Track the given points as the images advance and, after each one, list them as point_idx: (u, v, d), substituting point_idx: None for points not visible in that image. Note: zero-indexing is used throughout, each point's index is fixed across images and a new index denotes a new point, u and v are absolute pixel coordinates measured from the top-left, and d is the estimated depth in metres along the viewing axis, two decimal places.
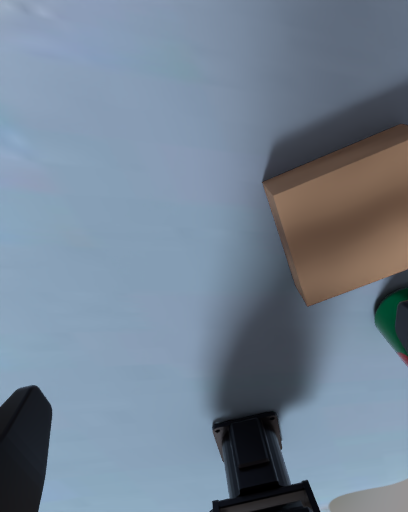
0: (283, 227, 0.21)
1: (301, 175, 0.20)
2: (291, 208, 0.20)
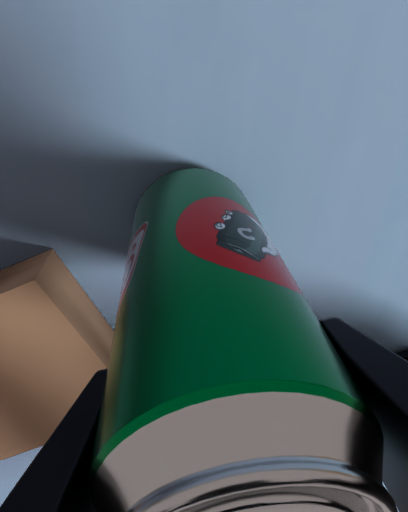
0: (27, 449, 0.18)
1: None
2: (0, 449, 0.18)
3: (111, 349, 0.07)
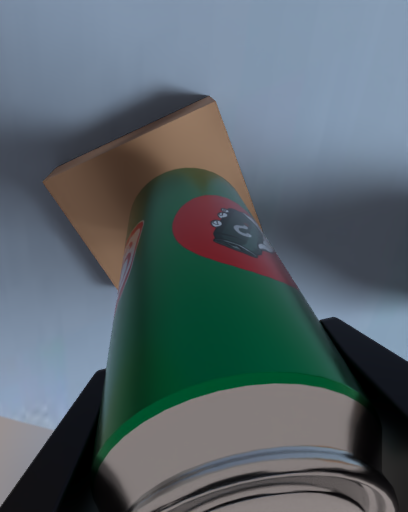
0: None
1: None
2: None
3: (110, 347, 0.07)
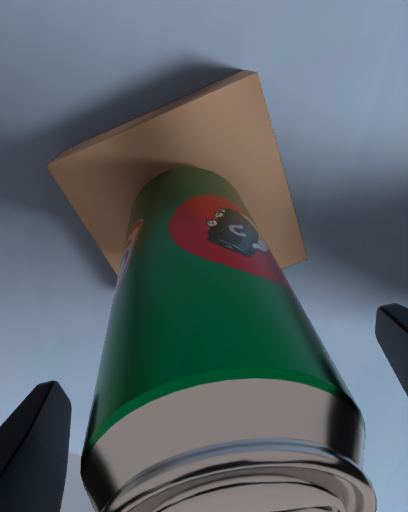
0: None
1: None
2: None
3: None
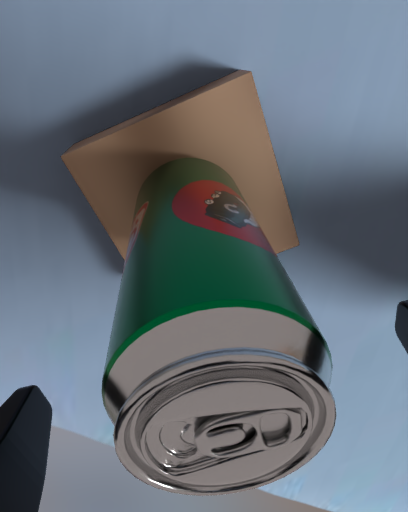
0: None
1: None
2: None
3: (118, 298, 0.09)
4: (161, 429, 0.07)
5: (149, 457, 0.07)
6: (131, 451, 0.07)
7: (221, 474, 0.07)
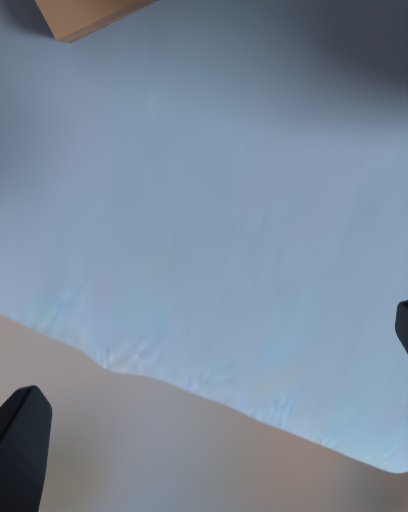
0: (106, 14, 0.13)
1: None
2: (71, 2, 0.13)
3: None
4: None
5: None
6: None
7: None
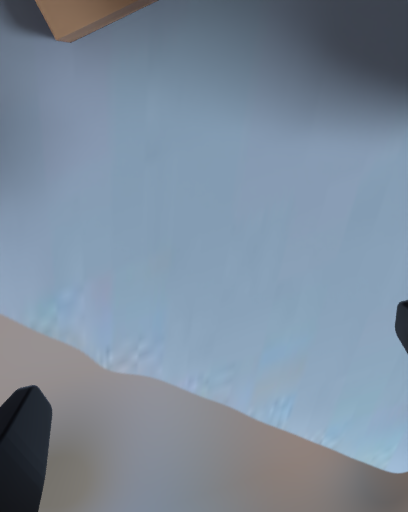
0: (106, 14, 0.13)
1: None
2: (71, 2, 0.13)
3: None
4: None
5: None
6: None
7: None
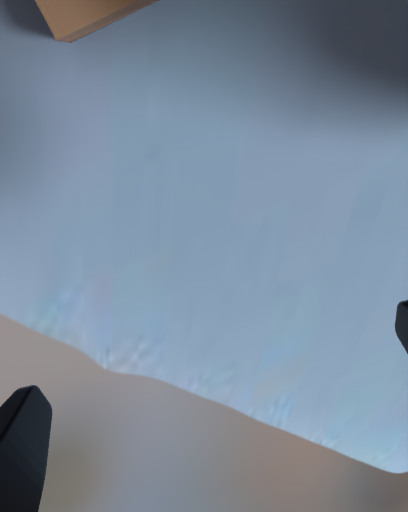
0: (106, 14, 0.13)
1: None
2: (71, 2, 0.13)
3: None
4: None
5: None
6: None
7: None
